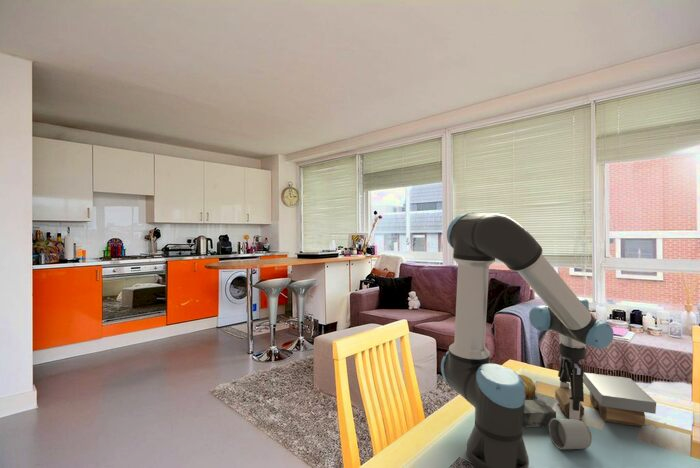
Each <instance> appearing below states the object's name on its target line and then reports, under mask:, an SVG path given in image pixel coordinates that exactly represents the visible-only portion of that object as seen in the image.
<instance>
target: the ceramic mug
mask: <svg viewBox="0 0 700 468" xmlns="http://www.w3.org/2000/svg"><path fill="white" fill-rule="evenodd" d="M548 432H549V437H550V439H551V441H552V443H553V445H554V446H555V447H556V448H557V449H558V450H584V449H588V448H590V447H591V444H592V442H593V441H592V440H593V439H592V433H591V431H590V429H589V426H588V425H587V424H586V423H585V422H583V421H582V420H580V419H579V420H576V419H570V418H559V417H556V418H553V419H551V421H550V423H549V427H548Z"/></svg>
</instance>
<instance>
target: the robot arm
mask: <svg viewBox="0 0 700 468" xmlns="http://www.w3.org/2000/svg"><path fill="white" fill-rule="evenodd" d="M446 239H447V242H448V244H449V246H450V247H451V248H452V249H453V252H452V258H453V260H454V261H455V262H456V263H457V280H456V283H457V284H456V302H455V319H454V320H455V322H454V323H455V324H454V340H453V341H454V342H453V343H452V344H450V345H449V346H448V350H447V351H446V352H445V355H443V357H442V359H441V363H440V372H441V375H442V377H443V379H444V381H445V382H446V384H447V385H448V386H449V387H450V388H451V389H452V390H454V391H455V392H457V393H458V394H459V395H460V396H461V397H462V398H463V399H465V400H466V401H467V402H468V403H469V404H470V405H471V406H473V408H474V425H473V428H472V430H471V433H470V435H469V437H468V440H467V443H466V456H467V455H468V456H467V459H468V460H469V462H470V461H471V462H472V463H471V462H470V463H471V464H472V465H473V466H474V467H475V468H529V465H530V459H529V455H528V452H527V449H526V444H525V441H524V437H523V435H524V433H523V429H524V428H523V420H524V406H525V386H524V382H523V380H522V378H521V377H520V376H519V375H520V374H518V373H517V372H516V371H514V370H513V369H512V368H509V367H507V366H502V365H501V364H497V363H491V361H490V360H491V359H490V358H491V352H490V351H489V349H487V347H486V332H487V310H488V293H489V275H490V274H489V273H490V272H489V271H490V266H491V265H492V264H494V262H495V261H496V260H499V261H500V262H502V263H503V264H504V265H505V266H506V267H507V268H508V269H509V270H510V271H512V272H517V274H519V276H520V277H521V278H522V279H523V280H524V281H525V282H526V284H528V285H529V287H530V288H531V289H532V291H533V292H535V294H536V295H537V297H539V299H540V300H541V301H542V302H544V304H542V305H535V306H533V307H532V308H531V309H530V310H529V316H528V319H529V323H530V324H531V326H532V327H533V328H534V329H535V330H538V331H544V332H545V331H551V332H555V333H557V334H559V337H558V339H559V345H558V353H559V355H560V362H559V366H558V367H559V368H558V374H557V376H558V378H559V387H561V386H562V387H569V388H570V389H571V397H569V399H570V407H569V417H568V419H576V420H580V418H579V417H580V403H581V402H584V401H585V400H584V399H585V396H584V395H585V393H584V383H583V372H584V368H582V367H581V363H580V361H582V360H584V359H586V357H587V346H588V347H593V348H594V349H599V350H603V349H606V348H608V347H610V344H611V343H612V342H613V339H614V329H613V327H612V325H611V324H610V323H608V322H605V321H603V320H602V319H597V318H596V317H595V316H594V315H593V314H592V313H591V312H590V306H589V305H590V303H589V301H588V299H586V298H585V297H581V296H577V295H576V293H575V292H574V291H573V290H572V289H571V288H570V286H569V285H568V284H567V283H566V281H565V280H564V279H563V278H562V276H561V275H560V274H559V273H558V272H557V271H556V270H555V268H554V267H553V266H552V264H550V262H549V261H548V260H547V258H546V257H545V256H544V255H543V248H542V246H541V245H540V244H539V242H538V241H537V240H536V238H535V237H534V236H533V235H532V234H531V233H530V232H529V231H528V230H526V228H524V227H523V226H522V225H521V224H520V223H519V222H517V221H516V220H515V219H514V218H513V219H512V218H511V217H510V216H507V215H505V214H501V213H488V212H487V213H485V212H484V213H481V212H466V213H461V214H459V215H457V216H456V217H454V219H452V221H451V222H450V223H449V225H448V227H447V231H446Z"/></svg>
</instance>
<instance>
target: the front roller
mask: <svg viewBox="0 0 700 468" xmlns="http://www.w3.org/2000/svg"><path fill="white" fill-rule="evenodd" d="M598 411H599V415H600V418H601V419H602V420H603V422H607V423H608V422H610V423H615V424H623V425H629V426H636V427H643V426H644V425H646V415H645V414H646V413H645V412H639V411H632V410H625V409H618V408H611V407H604V406H601V405H600V404H599V408H598Z"/></svg>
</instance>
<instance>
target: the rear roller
mask: <svg viewBox="0 0 700 468" xmlns="http://www.w3.org/2000/svg"><path fill="white" fill-rule="evenodd" d="M589 399H590V401H589V402H590V404H591V405H592V407H593V408H595V409H599V402H598V401H597V400H596V398H595V397H594V396H593V395H592V393H591V392H590V391H589Z"/></svg>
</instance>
